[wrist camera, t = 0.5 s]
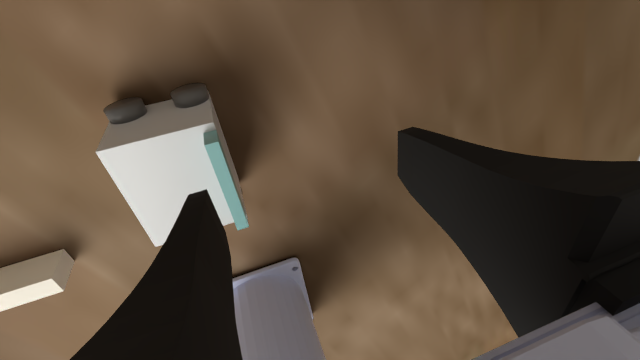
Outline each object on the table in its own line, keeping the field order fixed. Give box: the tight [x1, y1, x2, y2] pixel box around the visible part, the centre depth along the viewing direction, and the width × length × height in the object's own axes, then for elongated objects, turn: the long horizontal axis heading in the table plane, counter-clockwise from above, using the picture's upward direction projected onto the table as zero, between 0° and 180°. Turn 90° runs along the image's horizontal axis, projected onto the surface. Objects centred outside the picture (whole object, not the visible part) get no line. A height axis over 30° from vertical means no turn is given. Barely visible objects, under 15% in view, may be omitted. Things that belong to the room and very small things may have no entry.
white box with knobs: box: [96, 83, 249, 247], centre depth 17 cm, size 7×5×6 cm
